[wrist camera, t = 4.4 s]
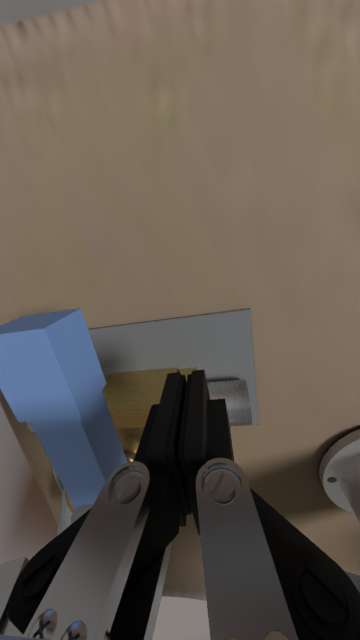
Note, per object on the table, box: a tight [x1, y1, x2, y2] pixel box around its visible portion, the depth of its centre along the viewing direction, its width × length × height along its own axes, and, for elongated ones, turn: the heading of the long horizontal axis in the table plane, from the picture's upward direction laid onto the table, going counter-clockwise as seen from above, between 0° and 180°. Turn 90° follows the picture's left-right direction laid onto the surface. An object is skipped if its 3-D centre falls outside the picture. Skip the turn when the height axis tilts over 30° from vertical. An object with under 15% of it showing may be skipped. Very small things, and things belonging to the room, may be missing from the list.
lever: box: [0, 308, 127, 524], centre depth 11 cm, size 4×13×2 cm, turn 10°
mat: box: [88, 308, 258, 425], centre depth 21 cm, size 22×12×1 cm, turn 100°
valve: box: [26, 367, 252, 462], centre depth 18 cm, size 20×6×8 cm, turn 100°
